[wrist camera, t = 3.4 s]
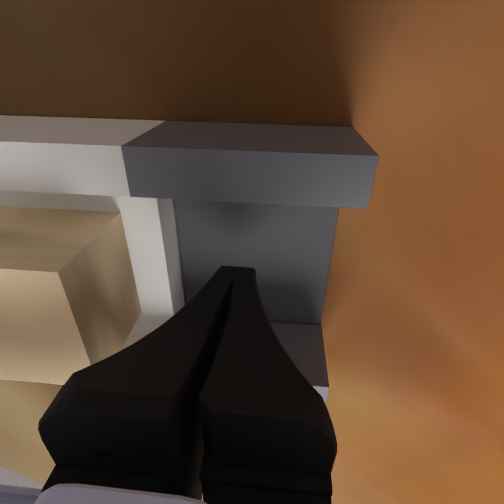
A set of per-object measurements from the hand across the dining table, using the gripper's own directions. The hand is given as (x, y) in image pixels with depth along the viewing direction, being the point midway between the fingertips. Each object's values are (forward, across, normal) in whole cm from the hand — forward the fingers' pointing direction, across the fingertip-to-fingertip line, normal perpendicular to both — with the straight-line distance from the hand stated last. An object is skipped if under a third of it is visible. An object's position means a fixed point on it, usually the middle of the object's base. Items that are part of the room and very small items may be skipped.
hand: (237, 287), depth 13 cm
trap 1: (+3, 0, 0) cm, 3 cm away
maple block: (+1, +7, 0) cm, 7 cm away
